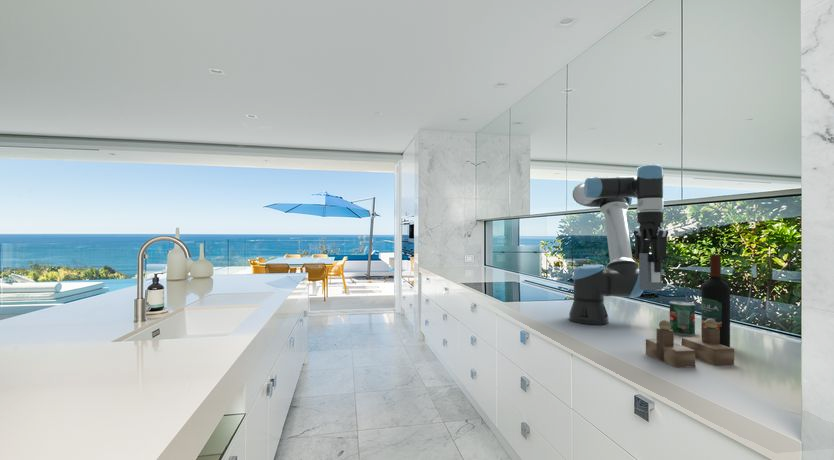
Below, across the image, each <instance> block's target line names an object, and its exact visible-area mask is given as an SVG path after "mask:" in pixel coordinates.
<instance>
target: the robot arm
mask: <svg viewBox="0 0 834 460" xmlns="http://www.w3.org/2000/svg"><path fill="white" fill-rule="evenodd" d="M664 177H665V176H664V170H663V166H662V165H661V164H645V165H640V166H638V167H637V169H636V175H633V176H629V175H628V176H627V175H626V176H601V177H600V176H593V177H588V178H586V179H585V181H584V182H582V183H579V184H577V185H576V186H574V188H573V191H572V197H573V200H574V201H575V203H577V204H579V205H581V206H583V207H590V208H599V211H600V213H602V214H603V215H604V222H605V231H606V237H607V248H608V255H609V262H608V264H606V267H605V266H604V265H603V264H586V265H580V266H577V267H575V268H574V269H573V277H572V279H573V302H572V305H571V308H570V311H569V313H568V314H569V315H568V318H569V320H570V321H572V322H575V323H579V324H584V325H606V324H609V315H608V312H607V308H606V306H605V300H604V299H605V297H618V298H619V297H620V298H621V297H622V298H638V297H640V296H641V295H642V293H643V292H644V290H645V289H640V288H639V263H637V262H636V261H635V260H634V259H633V254H632V252H633V251H632V246H631V239H630V233H629V225H628V220H627V211H628V210H629V208H630V206H631V204H632V202H633V198H634V199H636V200H637V201H636V202H637V205H636V206H637V209H636V210H637V211H638V212H637V214H636V221H637V223H638V224H639V229H638V230H633V235H634V248H635V249H634V252H635V255H634V256H635V259H636V260H639V253H652V259H653V260H652V261H651V282H660V272H661V262H665V261H667V252H668V250H667V249H668V248H667V247H668V244H667V243H668V235H669V230H668V229H666V230H665V229H663V228H662V226H661V224H662V223H664V213H663V211H664ZM650 250H651V252H650Z"/></svg>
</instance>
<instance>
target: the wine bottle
mask: <svg viewBox="0 0 834 460" xmlns="http://www.w3.org/2000/svg"><path fill="white" fill-rule="evenodd" d="M709 255H710V256H709V260H710V261H709V262H710V264H709V266H710V269H709V273H710V274H709V275H710V276H709V279H708V280H706V281H704V282H703V283H702V285H701V290H700V291H701V295H700V296H701V310H700V311H701V312H700V313H701V322H700V323H701V325H700V326H701V328H700V329H701V335H700V336H701V337H700V338H702V327H706V326H705V320H707V319H714V320H715V321H716V322H717V327H716V328H719V329H720V344H721V345H724V346H727V347H730V348H731V288H730V286H729V285H728V283H726V281H724V280H723V279H722V276H721V274H722V272H721V271H722V270H721V269H722V268H721V267H722V266H721V265H722V263H721V262H722V261H721V260H722V256H721V254H709Z"/></svg>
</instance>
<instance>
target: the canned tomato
mask: <svg viewBox="0 0 834 460" xmlns="http://www.w3.org/2000/svg"><path fill="white" fill-rule="evenodd" d="M669 322H670V324H671V328H670V330H673V331H674V335H675V334H676V335H679V336H695V335H696V303H693V302H689V301H680V300H671V301H669Z"/></svg>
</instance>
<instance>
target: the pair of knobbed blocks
mask: <svg viewBox="0 0 834 460" xmlns="http://www.w3.org/2000/svg"><path fill="white" fill-rule="evenodd" d="M658 326H659V327H658V328H657V327H656V338H646V339H645V355H647V354H648V356H650V357H652V358H654V357H655V359H656V358H657V359H656V360H659V361H661V362H663V363H666V364H667V365H670V366H672V367H674V366H675V367H674V368H676V367H677V368H687V367H686V366H695V367H696V359H698V360H700V361H703V362H706V363H708V364H711V365H713V366H731V365H732V366H734V365H735V348H733V347H731V346H730V347H727V346H724V345H721V344H720V329H719V328H716V327H717V322H716V321H715V320H714V319H707V320H705V326H706V327H702V338H701V337H699V336H694V337H693V336H691V337H689V336H688V337H681V344H678V343H677V342H674V337H675V336H674V335H675V333H674V331H673V330H670V328H671V324H670V321H669V320H667V319H663V320H660V321H659V323H658Z"/></svg>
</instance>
